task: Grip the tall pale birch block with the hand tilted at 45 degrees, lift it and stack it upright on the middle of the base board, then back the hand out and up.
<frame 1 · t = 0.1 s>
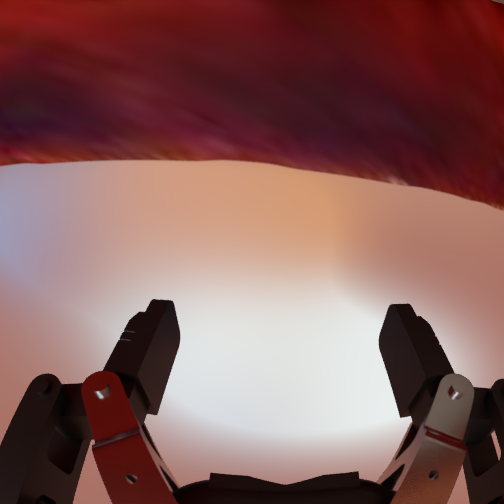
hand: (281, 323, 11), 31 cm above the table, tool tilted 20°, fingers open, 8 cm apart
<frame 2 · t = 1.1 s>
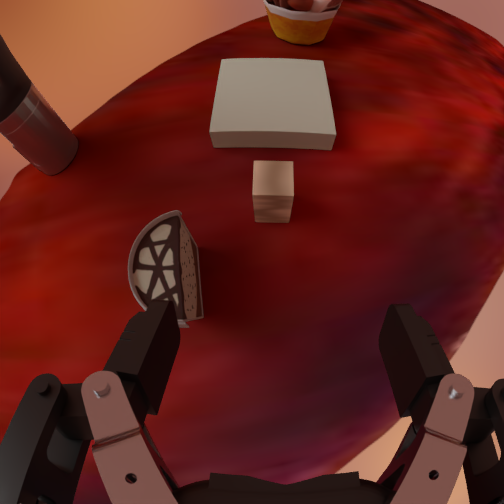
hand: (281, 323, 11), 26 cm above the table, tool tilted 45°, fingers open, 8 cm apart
base board: (272, 106, 45), on the table
bucket of meat: (297, 35, 52), on the table
food container: (178, 284, 38), on the table
birch block: (272, 207, 40), on the table
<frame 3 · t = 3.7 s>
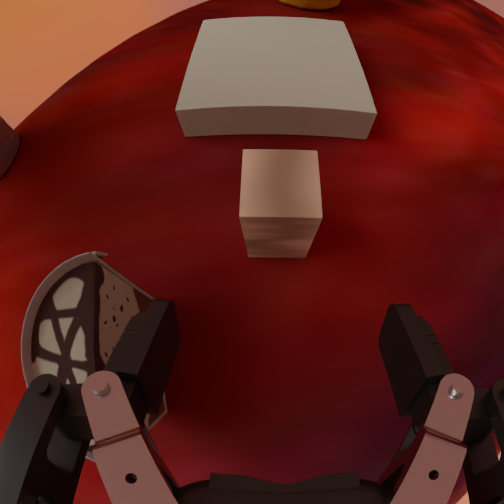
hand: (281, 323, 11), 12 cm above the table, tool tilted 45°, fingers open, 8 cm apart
base board: (275, 77, 30), on the table
bucket of meat: (304, 1, 37), on the table
food container: (127, 357, 22), on the table
birch block: (277, 230, 24), on the table
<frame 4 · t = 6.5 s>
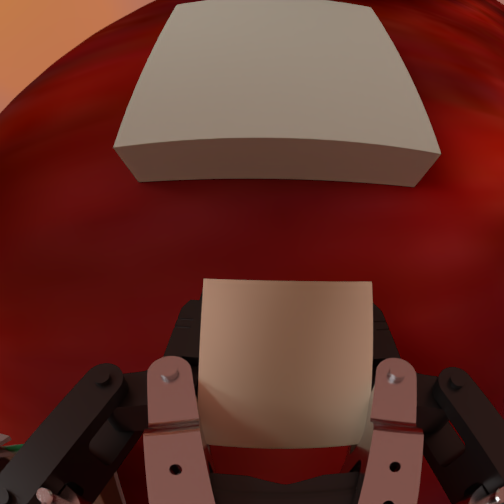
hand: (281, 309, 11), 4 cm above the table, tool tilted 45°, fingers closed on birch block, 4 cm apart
base board: (276, 82, 20), on the table
food container: (86, 484, 12), on the table
birch block: (277, 353, 15), on the table, touching gripper
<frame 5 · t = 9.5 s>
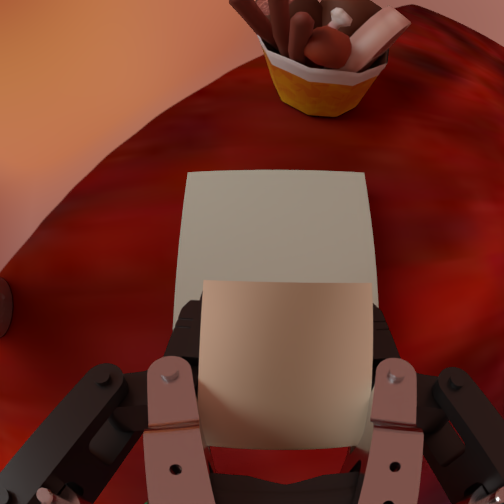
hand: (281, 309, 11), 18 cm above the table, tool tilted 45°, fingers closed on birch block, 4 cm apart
base board: (276, 268, 30), on the table
bucket of meat: (314, 94, 37), on the table
birch block: (277, 354, 15), point 14 cm above the table, touching gripper
when the fingers open (10 cm above the table, at t = 12.6 s): birch block drops 1 cm, resting on base board.
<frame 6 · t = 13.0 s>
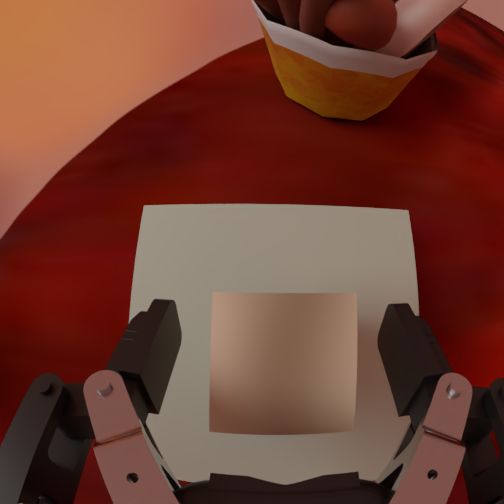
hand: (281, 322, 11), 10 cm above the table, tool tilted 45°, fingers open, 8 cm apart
base board: (274, 349, 20), on the table
bucket of meat: (329, 89, 27), on the table
birch block: (276, 353, 16), point 4 cm above the table, touching base board
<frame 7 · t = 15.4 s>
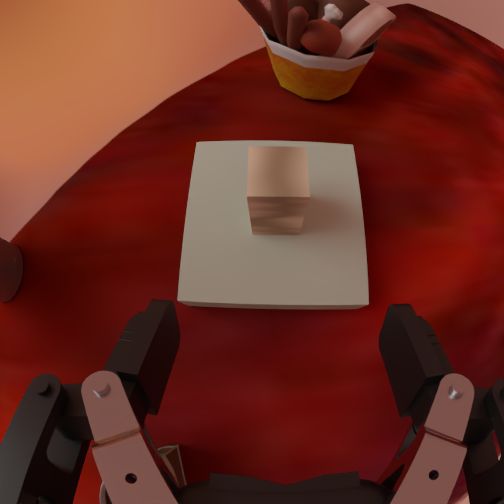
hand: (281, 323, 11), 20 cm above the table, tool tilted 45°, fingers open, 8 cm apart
base board: (274, 227, 33), on the table
bucket of meat: (310, 81, 40), on the table
food container: (160, 476, 25), on the table
birch block: (275, 213, 29), point 4 cm above the table, touching base board
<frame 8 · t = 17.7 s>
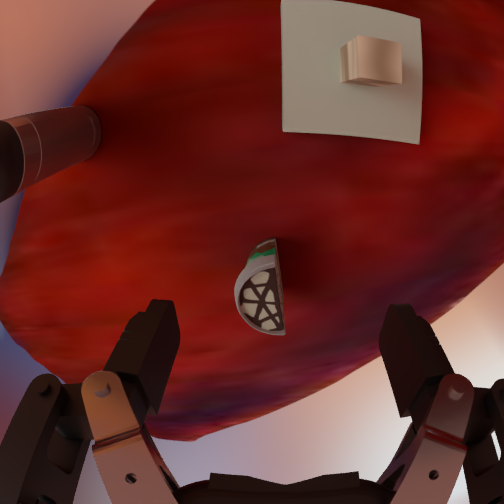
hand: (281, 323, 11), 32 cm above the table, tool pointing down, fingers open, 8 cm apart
base board: (349, 69, 32), on the table
food container: (259, 265, 47), on the table
birch block: (358, 67, 29), point 4 cm above the table, touching base board
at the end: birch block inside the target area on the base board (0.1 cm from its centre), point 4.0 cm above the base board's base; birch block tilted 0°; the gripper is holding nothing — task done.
